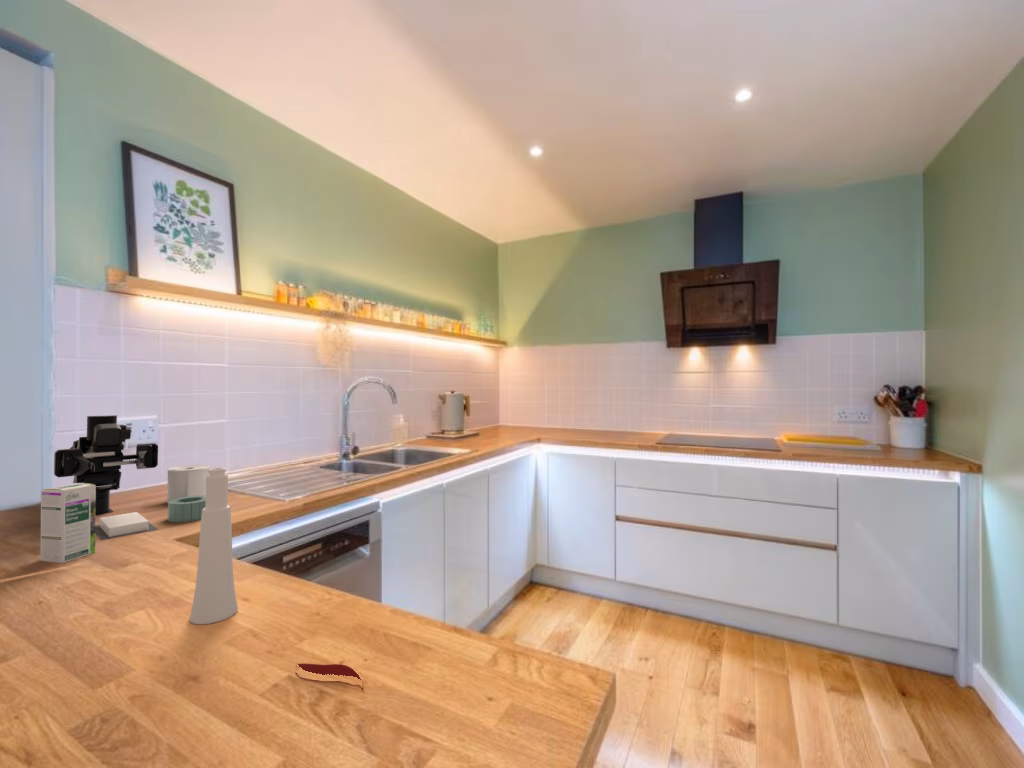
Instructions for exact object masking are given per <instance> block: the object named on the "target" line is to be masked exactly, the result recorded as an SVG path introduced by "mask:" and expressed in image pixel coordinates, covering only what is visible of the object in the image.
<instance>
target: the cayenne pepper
mask: <svg viewBox="0 0 1024 768" xmlns="http://www.w3.org/2000/svg"><path fill="white" fill-rule="evenodd" d="M297 664H298V665H299V667H301V668H302V669H303V670H305V671H308V672H312V673H316V674H318V673H319V674H322V675H325V674H326V675H327V674H329V675H330V674H331V675H332V674H334V675H338V676H339V675H343V676H344V675H345V676H353V677H357V678H358V679H360V677H359V675H358V674H357V673H356V672H355V671H354V670H353V669H354V668H353V667H351V666H348V665H345V664H342V663H341V664H339V663H337V664H336V663H335V664H334V663H331V664H317V663H316V664H315V663H304V662H303V663H302V662H301V663H297ZM352 668H353V669H352ZM360 680H361V679H360Z"/></svg>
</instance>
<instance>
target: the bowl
mask: <svg viewBox="0 0 1024 768" xmlns="http://www.w3.org/2000/svg"><path fill="white" fill-rule="evenodd" d="M205 507H206V496H188V497H181V498H177V499H173V500H170V501H169V502H168V503H167V521H168V522H170V523H188V522H189V523H190V522H194V521H201V517H202V509H204V508H205Z"/></svg>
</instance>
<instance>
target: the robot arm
mask: <svg viewBox="0 0 1024 768" xmlns="http://www.w3.org/2000/svg"><path fill="white" fill-rule="evenodd" d="M131 434H132V428H131V427H130V426H127V424H119V423H118V415H87V416H86V436H79V438H78V439H77V440H75V441H74V440H73V443H72V446H70V448H64V449H63V448H62V449H61V448H60V449H57V450H56V451H54V454H53V455H54V456H53V457H54V459H53V475H54V476H55V477H57V478H65V477H73V482H72V484H74V483H89V484H95V485H96V502H95V516H98V515H103V514H110V513H113V512H114V511H113V509H112V508H110V507H111V506H110V503H111V502H110V500H111V499H110V496H111V491H114V490H115V491H117V490H118V489H120V487H121V486H120V484H121V478H122V472H121V469H122V466H124V465H126V466H127V465H136V469H137V470H145V469H153V468H154V469H155V468H157V466H158V465H159V445H158V444H156V443H155V442H151V443H137V444H136V449H135V452H136V453H135V454H134V453H133V454H124V453H123V451H124V450H125V445H124V444H123V443H125V442H126V440H130V439H131V436H132V435H131Z"/></svg>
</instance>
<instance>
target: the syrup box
mask: <svg viewBox="0 0 1024 768" xmlns="http://www.w3.org/2000/svg"><path fill="white" fill-rule="evenodd" d="M95 502H96V485H95V484H89V483H74V484H73V483H71V484H65V485H61V486H60V485H59V486H55V487H47V488H43V489H41V491H40V557H39V558H40V561H41V562H50V563H60V564H63V563H66V562H69V561H73V560H77V559H79V558H82V557H86V556H90V555H92V554H95V553H96V533H95V525H96V515H95Z"/></svg>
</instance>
